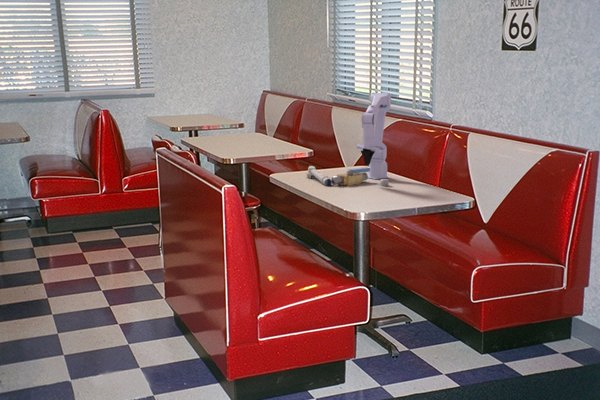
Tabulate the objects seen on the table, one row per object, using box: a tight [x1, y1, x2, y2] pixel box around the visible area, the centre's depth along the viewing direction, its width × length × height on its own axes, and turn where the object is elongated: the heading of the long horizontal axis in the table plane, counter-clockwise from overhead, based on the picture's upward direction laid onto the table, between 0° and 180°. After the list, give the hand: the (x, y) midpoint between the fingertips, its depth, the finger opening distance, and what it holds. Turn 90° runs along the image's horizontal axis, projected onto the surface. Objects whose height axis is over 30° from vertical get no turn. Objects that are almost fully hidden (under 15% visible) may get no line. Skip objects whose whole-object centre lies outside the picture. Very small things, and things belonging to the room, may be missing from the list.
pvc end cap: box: [379, 178, 390, 187], centre depth 365 cm, size 4×4×3 cm
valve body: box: [330, 172, 369, 186], centre depth 368 cm, size 21×7×5 cm, turn 129°
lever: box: [346, 166, 370, 175], centre depth 370 cm, size 3×14×2 cm, turn 125°
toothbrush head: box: [305, 165, 333, 187], centre depth 373 cm, size 5×7×25 cm
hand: (367, 164), depth 366 cm, fingers closed
